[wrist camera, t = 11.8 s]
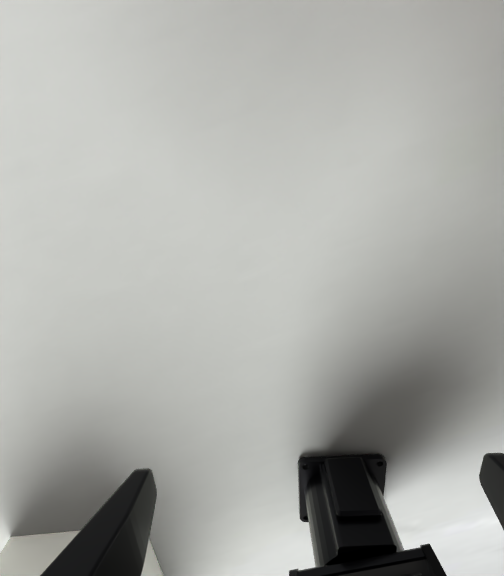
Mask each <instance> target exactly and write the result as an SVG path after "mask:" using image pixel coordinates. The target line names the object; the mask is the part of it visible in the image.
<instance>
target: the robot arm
mask: <svg viewBox="0 0 504 576" xmlns="http://www.w3.org/2000/svg"><path fill="white" fill-rule="evenodd" d="M386 465H387V463H386V460H385V458H384V456H383V455H380V454H374V455H352V456H329V457H307V458H301V459H300V460H299V461H298V480H299V514H300V519H301V521H303V522H309V526H310V533H311V540H312V546H313V553H314V559H315V566H316V567H315V568H310V569H304V570H298V569H294V570H290V571H289V576H447V575H446V574H445V572H444V570H443V568H442V566H441V564H440V562H439V560H438V559H437V557H436V555H435V553H434V551H433V549H432V547H431V546H430V544H425V545H420V548H415V549H409V550H404V548H403V546H402V543H401V541H400V538H399V536H398V533H397V531H396V528H395V525H394V523H393V520H392V518H391V515H390V513H389V510H388V508H387V505H386V502H385V500H384V497H383V495H384V485H385V475H386ZM479 478H480V483H481V485H482V488H483V490H484V492H485V494H486V496H487V498H488V500H489V502H490V504H491V506H492V508H493V510H494V512H495V514H496V516H497V518H498V520H499V522H500V524H501V525H502V527H503V529H504V454H503V453H487V454H485V455H484V458H483V462H482V466H481V470H480V475H479ZM156 496H157V490H156V486H155V481H154V477H153V473H152V470H151V469H137V470H135V471H134V472H133V473H132V474H131V475H130V476H129V477H128V478H127V479H126V480H125V482H124V483H123V484H122V485H121V486H120V487H119V488H118V489H117V491H116V492H115V493H114V494H113V495H112V496H111V497H110V498H109V499H108V501H107V502H106V503H105V504H104V505H103V506H102V507H101V508H100V509H99V511H98V512H97V513H96V514H95V515H94V516H93V517H92V518H91V519H90V521H89V522H88V523H87V524H86V525H85V526H84V527H83V528H82V529H81V531H80V532H79V533H78V534H77V535H76V536H75V537H74V538H73V539H72V541H71V542H70V543H69V544H68V545H67V546H66V547H65V548H64V549H63V551H62V552H61V553H60V554H59V555H58V556H57V557H56V558H55V560H54V561H53V562H52V563H51V564H50V565H49V566H48V567H47V568H46V570H45V571H44V572H43V573H42V574H41V575H40V576H141V573H142V569H143V566H144V561H145V556H146V551H147V546H148V540H149V535H150V530H151V524H152V519H153V513H154V508H155V503H156Z"/></svg>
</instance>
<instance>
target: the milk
mask: <svg viewBox="0 0 504 576" xmlns="http://www.w3.org/2000/svg"><path fill="white" fill-rule="evenodd" d="M79 532H80V531H70V532H59V533H47V534H36V535H25V536H14V537H10V539H9V540H8V542H7V543H6V545H5V547H4V548H3V550H2V552H1V553H0V576H40V575H41V574H42V573H43V572H44V571H45V570H46V568H47V567H48V566H49V565H50V564H51V563H52V562H53V561H54V560H55V558H56V557H57V556H58V555H59V554H60V553H61V552H62V551H63V549H64V548H65V547H66V546H67V545H68V544H69V543H70V542H71V541H72V539H73V538H74V537H75V536H76V535H77V534H78V533H79ZM141 576H163V573H162V571H161V568H160V566H159V563H158V560H157V558H156V555H155V552H154V550H153V547H152V545H151V542H150V539H149V540H148V546H147V551H146V556H145V561H144V566H143V569H142V573H141Z"/></svg>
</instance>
